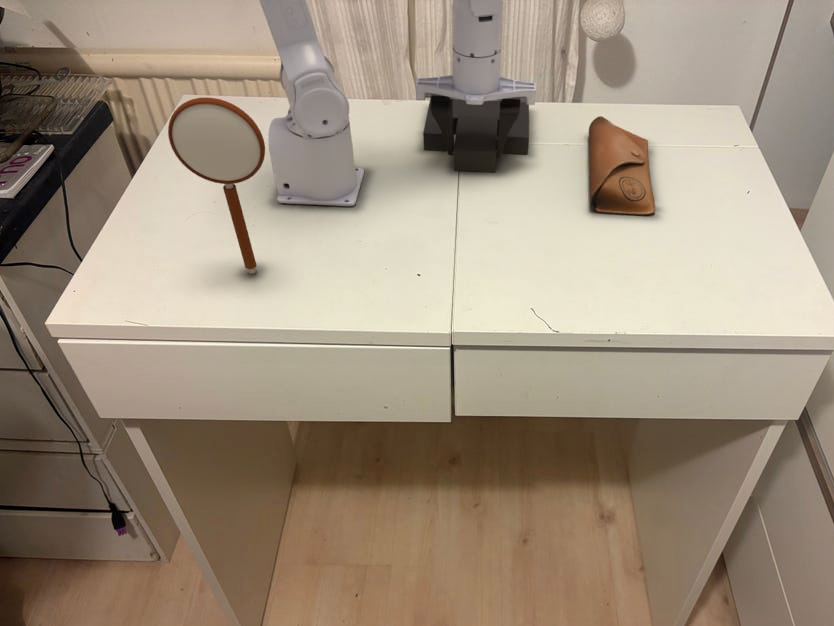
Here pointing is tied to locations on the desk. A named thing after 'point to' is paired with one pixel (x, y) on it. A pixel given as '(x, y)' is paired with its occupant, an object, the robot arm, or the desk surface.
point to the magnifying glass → (220, 153)
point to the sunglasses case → (619, 170)
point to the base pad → (517, 135)
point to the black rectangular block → (475, 144)
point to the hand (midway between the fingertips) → (474, 152)
